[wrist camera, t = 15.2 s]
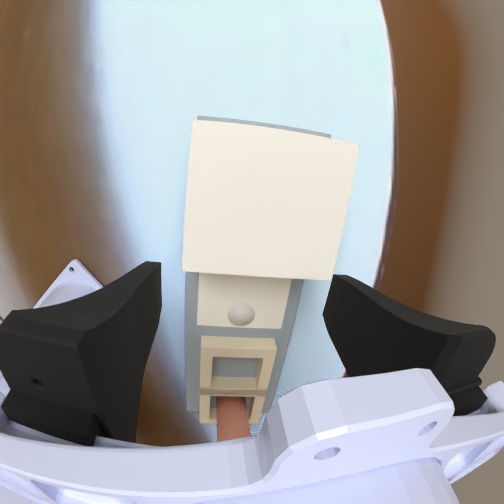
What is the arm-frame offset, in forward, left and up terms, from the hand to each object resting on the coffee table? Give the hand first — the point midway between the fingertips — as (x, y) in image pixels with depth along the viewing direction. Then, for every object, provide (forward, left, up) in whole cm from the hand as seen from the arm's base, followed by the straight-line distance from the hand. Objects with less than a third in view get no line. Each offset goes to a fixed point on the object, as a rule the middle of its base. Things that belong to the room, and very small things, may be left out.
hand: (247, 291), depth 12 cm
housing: (+3, +1, -9) cm, 9 cm away
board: (-4, -6, -10) cm, 13 cm away
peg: (-12, -14, -9) cm, 20 cm away
